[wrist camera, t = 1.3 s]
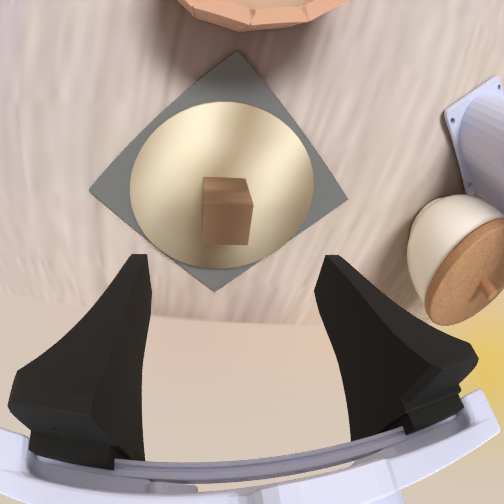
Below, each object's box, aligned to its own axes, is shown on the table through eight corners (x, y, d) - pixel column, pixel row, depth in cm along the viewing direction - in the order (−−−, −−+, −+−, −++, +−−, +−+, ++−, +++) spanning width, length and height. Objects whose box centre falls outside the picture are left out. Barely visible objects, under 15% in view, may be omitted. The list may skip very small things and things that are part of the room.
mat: (346, 197, 22) (348, 199, 22) (214, 289, 26) (214, 292, 25) (237, 50, 15) (237, 50, 14) (89, 188, 18) (88, 190, 18)
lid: (326, 113, 17) (355, 131, 14) (291, 262, 25) (306, 301, 21) (130, 99, 15) (110, 113, 12) (139, 260, 22) (130, 301, 19)
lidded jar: (488, 189, 23) (549, 248, 16) (441, 271, 29) (484, 335, 22) (420, 159, 20) (500, 227, 13) (369, 264, 27) (414, 347, 19)
